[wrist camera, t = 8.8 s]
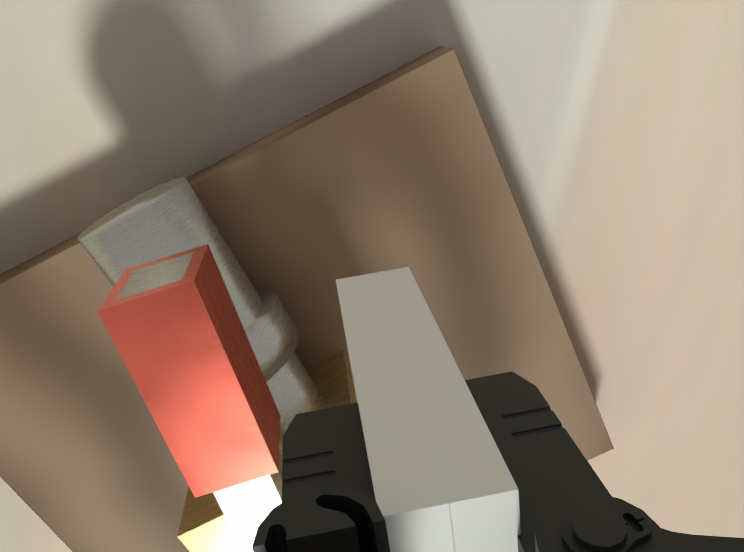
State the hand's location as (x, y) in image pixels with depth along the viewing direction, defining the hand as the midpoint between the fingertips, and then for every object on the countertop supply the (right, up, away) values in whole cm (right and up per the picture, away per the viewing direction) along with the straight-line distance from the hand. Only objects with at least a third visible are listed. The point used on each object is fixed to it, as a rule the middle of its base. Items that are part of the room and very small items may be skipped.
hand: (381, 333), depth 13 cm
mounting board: (-4, -3, +13) cm, 14 cm away
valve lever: (-3, -4, +4) cm, 6 cm away
